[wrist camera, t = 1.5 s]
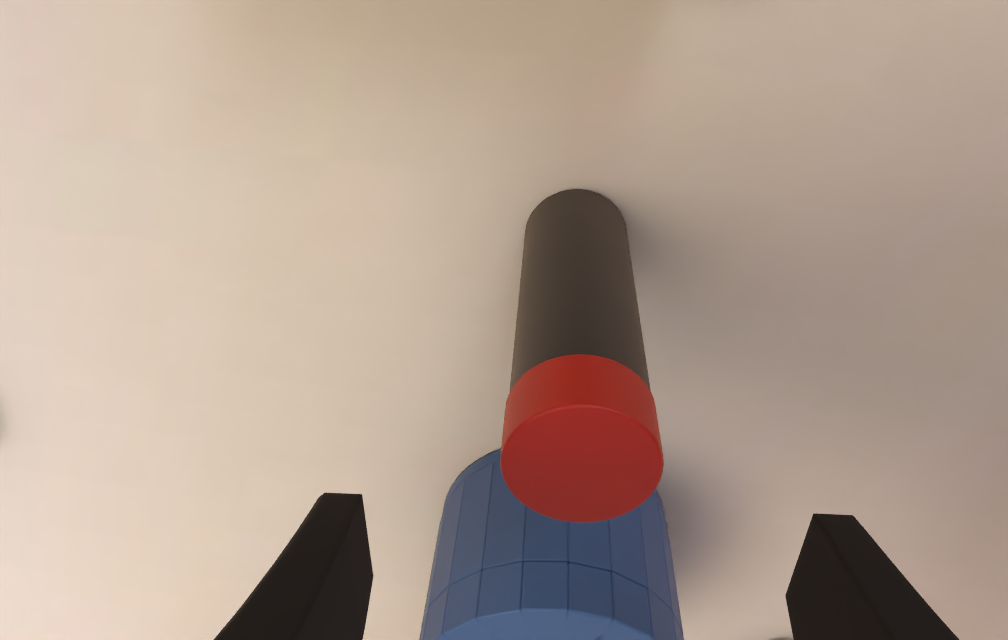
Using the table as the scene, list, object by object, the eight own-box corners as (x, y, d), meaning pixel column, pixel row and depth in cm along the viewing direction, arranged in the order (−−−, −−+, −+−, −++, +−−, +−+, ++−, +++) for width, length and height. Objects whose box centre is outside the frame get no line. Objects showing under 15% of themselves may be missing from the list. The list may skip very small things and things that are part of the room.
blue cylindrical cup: (519, 404, 24) (506, 570, 19) (712, 505, 26) (749, 683, 21) (405, 537, 28) (367, 706, 23) (579, 617, 30) (582, 790, 25)
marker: (562, 167, 20) (559, 378, 12) (650, 222, 21) (698, 454, 13) (504, 248, 21) (470, 481, 14) (588, 297, 22) (599, 544, 14)
